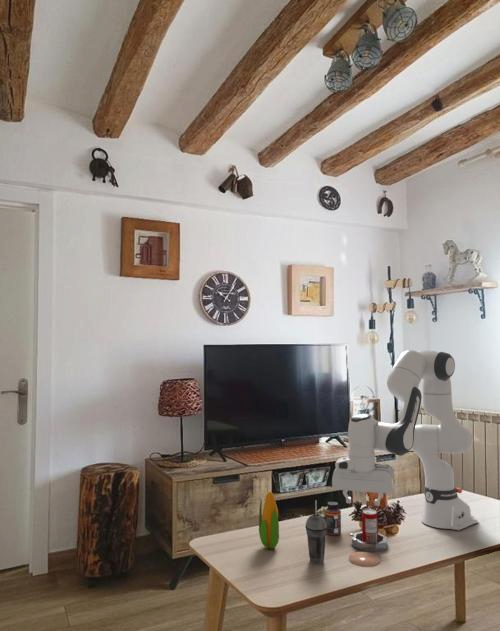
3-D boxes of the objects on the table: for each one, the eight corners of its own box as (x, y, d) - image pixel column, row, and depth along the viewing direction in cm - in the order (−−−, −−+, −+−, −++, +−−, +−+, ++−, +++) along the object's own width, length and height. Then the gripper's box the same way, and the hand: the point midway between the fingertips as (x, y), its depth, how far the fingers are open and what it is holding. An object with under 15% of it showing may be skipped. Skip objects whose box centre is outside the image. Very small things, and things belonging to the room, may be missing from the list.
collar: (371, 536, 191) (371, 527, 191) (393, 547, 180) (393, 538, 180) (343, 542, 185) (343, 533, 185) (365, 554, 174) (365, 545, 174)
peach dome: (365, 551, 177) (365, 549, 177) (385, 562, 168) (385, 560, 168) (342, 557, 172) (342, 555, 172) (362, 568, 163) (362, 567, 163)
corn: (264, 554, 175) (264, 496, 176) (255, 546, 182) (255, 490, 183) (284, 551, 178) (283, 493, 179) (274, 543, 185) (274, 487, 186)
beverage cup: (305, 566, 166) (304, 504, 166) (306, 557, 173) (305, 497, 174) (328, 567, 165) (327, 505, 166) (327, 558, 172) (326, 498, 173)
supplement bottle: (340, 536, 190) (340, 506, 191) (324, 535, 191) (324, 505, 192) (341, 530, 196) (340, 501, 197) (325, 529, 197) (325, 500, 198)
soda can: (369, 539, 187) (369, 507, 187) (381, 544, 182) (380, 511, 183) (359, 543, 184) (358, 510, 184) (370, 548, 179) (370, 514, 179)
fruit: (321, 525, 207) (323, 504, 210) (339, 530, 201) (342, 508, 203) (306, 523, 202) (309, 502, 204) (325, 527, 195) (328, 506, 198)
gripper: (394, 462, 172) (395, 503, 171) (333, 458, 178) (334, 498, 177) (393, 467, 166) (394, 510, 165) (330, 463, 172) (331, 504, 171)
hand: (362, 504), depth 171 cm, fingers open, 8 cm apart
